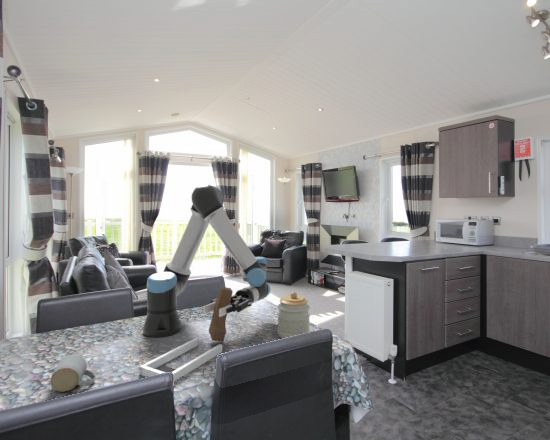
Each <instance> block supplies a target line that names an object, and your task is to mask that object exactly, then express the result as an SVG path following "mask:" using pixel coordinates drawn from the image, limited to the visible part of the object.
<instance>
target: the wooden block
mask: <svg viewBox="0 0 550 440" xmlns="http://www.w3.org/2000/svg"><path fill="white" fill-rule="evenodd" d="M217 293H218V294H217V296H216V298H217V300H216V304H215V308H214V310H213V313H212V316H211V321H210V324H209V329H208V333H209V336H210V339H211V341H215V342H224V341H225V337H226V333H227V328H226V322H227V317H228V314H226V315H224V316H222V317H219V309H221V308H223V307H225V306H228V305H230V301H231V297H232V296H233V293H234V292H233V289H232V288H231V287H225V286H219V289H218V292H217Z"/></svg>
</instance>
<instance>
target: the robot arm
mask: <svg viewBox="0 0 550 440" xmlns="http://www.w3.org/2000/svg"><path fill="white" fill-rule="evenodd" d="M224 201H225V200H224V195H223V192H222V191H221V190H220V189H219V187H216V186H214V185H210V184H205V183H203V184H200V185H197V186H196V187H195V188H194V190H193V191H192V193H191V203H192V205H191V207H190V212H191V216H190V219H189V220H188V223H187V225H186V228H185V230H184V231H183V234H182V237H181V238H180V241H179V244H178V246H177V248H176V250H175V252H174V255H173V257H172V259H171V261H170V262H168V263H166V264H165V268H164V269H163V271H159V272H156V273H153V274H151V275H149V276H148V277H147V281H146V301H147V303H146V304H147V305H146V306H147V307H146V309H147V313H146V317H145V321H144V324H143V327H142V333H143V335H144V336H146V337H150V338H163V337H169V336H172V335H175V334H177V333H179V332H180V331H181V330H182V321H181V319H180V316H179V313H178V301H177V299H178V296H179V295H181V294H182V293H184V291H185V290H186V289H187V287H188V284H189V279H190V276H191V274H192V273H191V269H190V267H191V265H192V264H193V261H194V259H195V257H196V254H197V252H198V249H199V248H200V244H201V242H202V241H203V238H204V236H205V234H206V232H207V229H208V227H209V225H210V226H211V228H212V229H213V230H214V232H215V233H216V235H217V236H218V237H219V239H220V240H221V242H222V243H223V245H224V247H225V248H226V249H227V251H228V252H229V253H230V255H231V256H232V257H233V259H234V260H235V263H236V264H237V265H238V266H239V267H240V269H241V271H242V272H243V274H244V275H245V277H246V281H247V282H248V284H249V286H245V287H244V288H241V289H237V291H236V292H235V293H234V294H232V297H231V301H230V305H228V306H225V307H223V308H221V309H219V317H222V316H224V315H226V314H227V315H229V314H230V313H235V312H237V313H241V312H242V311H244V310H245V309H247V308H249V307H252V304H254V303H257V302H259V301H261V300H264V299H265V298H267V297H268V296H269V295H270V293H271V286H270V284H269V283H268V282H267V281H268V280H267V273H268V272H267V270H268V269H267V267H268V265H267V258H266V257H264V256H255V255H254V254H253V252H252V251H251V249H250V248H249V246H248V245H247V243H246V242H245V240H244V238H242V236H241V235H240V232H238V230H237V229H236V226H234V224H233V223H232V221H231V220H230V218H229V217H228V216H227V213H226V212H225V210H224V208H225V206H224ZM216 300H217V297H216V298H215V299H211V300H210V302H209V304H206V305H203V307H202V310H203V311H202V312H203V314H205V315H206V314H207V313H210V312H212V311H214V308H215V304H216Z"/></svg>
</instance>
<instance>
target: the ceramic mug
mask: <svg viewBox="0 0 550 440" xmlns="http://www.w3.org/2000/svg"><path fill="white" fill-rule="evenodd" d="M87 363H88V362H87V361H86V359H85V358H84V357H82V356H81V355H78V354H69V355H66V356H64V357H63V358H62V359H60V360H59V362H58V364H57V365H56V366H55V369H54V370H53V372H52V374H51V377H50V385H51V387H52V389H53V390H54V391H56V392H60V393H66V392H65V391H67V392H70V391H71V390H73V389H75V387H77V386H80V387H89V386H92V385H93V384H94V383H95V381H96V378H97V375H96V374H95V373H94V372H93V371H91V370H89V369H87V368H88V364H87ZM83 376H87V377H89V378H90V379H91V380H83V379H82V378H83ZM91 384H92V385H91ZM69 390H70V391H69Z"/></svg>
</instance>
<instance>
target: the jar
mask: <svg viewBox="0 0 550 440" xmlns="http://www.w3.org/2000/svg"><path fill="white" fill-rule="evenodd" d="M279 302H280V303H279V304H277V309H278V312H277V335H278V337H279V338H281V339H282V338H285V337H290V336H294V335H299V334H303V333H307V332H310V333H311V330H310V317H311V315H310V313H309V312H310V311H309V310H310V308H311V307H310V305H309V304H308V303H309V301H308V299H307V298H305V296H303V295H298V293H297V292H296V291H292V292H291V293H290V295H289V294H288V295H284V296H283V297H282V298H280V299H279Z"/></svg>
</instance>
